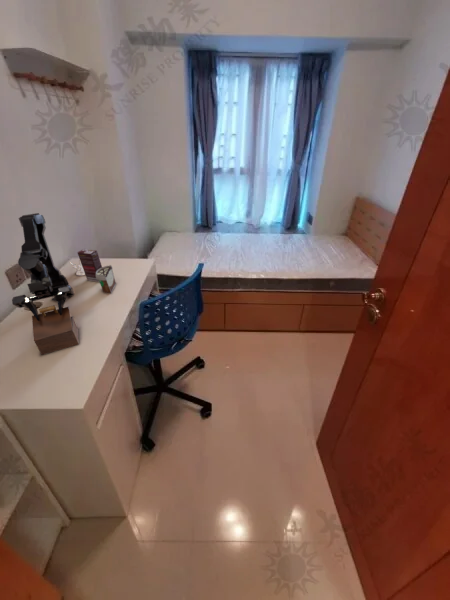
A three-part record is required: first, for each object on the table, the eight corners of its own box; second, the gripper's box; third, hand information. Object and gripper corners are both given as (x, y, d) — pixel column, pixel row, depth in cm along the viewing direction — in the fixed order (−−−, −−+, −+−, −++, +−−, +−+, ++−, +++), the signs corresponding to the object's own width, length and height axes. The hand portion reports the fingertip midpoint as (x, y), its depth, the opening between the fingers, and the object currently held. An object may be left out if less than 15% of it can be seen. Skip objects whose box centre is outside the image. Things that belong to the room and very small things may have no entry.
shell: (95, 272, 154) (90, 257, 149) (71, 277, 151) (65, 261, 145) (95, 266, 161) (90, 251, 156) (73, 270, 158) (67, 255, 152)
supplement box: (106, 277, 149) (97, 250, 140) (100, 282, 145) (90, 254, 136) (93, 276, 151) (83, 248, 143) (86, 280, 147) (76, 252, 139)
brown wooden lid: (32, 316, 103) (27, 309, 100) (69, 307, 108) (65, 300, 104) (34, 341, 98) (28, 334, 94) (73, 330, 102) (68, 324, 98)
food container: (104, 283, 144) (98, 265, 138) (116, 282, 144) (111, 264, 139) (97, 296, 134) (91, 277, 128) (110, 294, 134) (104, 276, 128)
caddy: (43, 338, 109) (37, 325, 106) (78, 328, 113) (72, 316, 110) (41, 355, 101) (34, 342, 98) (78, 344, 105) (73, 331, 102)
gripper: (0, 277, 93) (10, 321, 91) (61, 264, 100) (72, 305, 97) (14, 287, 104) (23, 327, 101) (69, 275, 110) (79, 312, 107)
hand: (50, 318), depth 101 cm, fingers open, 7 cm apart
